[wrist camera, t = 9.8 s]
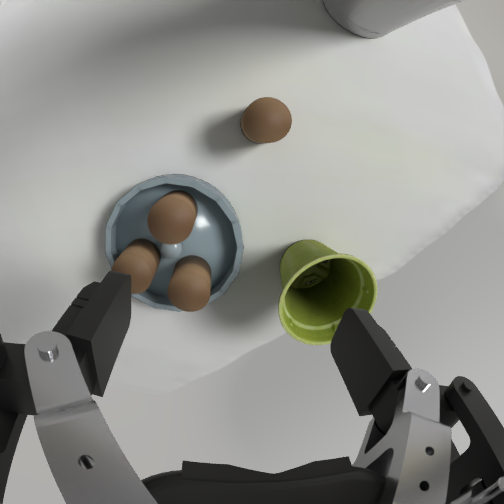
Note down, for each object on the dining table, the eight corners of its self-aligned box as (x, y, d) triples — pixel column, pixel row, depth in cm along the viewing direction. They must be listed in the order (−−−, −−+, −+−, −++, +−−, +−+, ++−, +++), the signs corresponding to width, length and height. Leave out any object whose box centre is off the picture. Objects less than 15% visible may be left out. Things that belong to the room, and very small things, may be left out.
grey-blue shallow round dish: (118, 166, 25) (109, 169, 23) (253, 186, 28) (256, 190, 25) (113, 288, 30) (106, 299, 28) (229, 306, 33) (230, 319, 30)
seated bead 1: (126, 235, 27) (111, 251, 23) (162, 241, 28) (152, 258, 24) (125, 270, 28) (112, 290, 24) (159, 275, 29) (150, 297, 25)
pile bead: (244, 101, 24) (249, 92, 20) (284, 109, 25) (295, 103, 21) (236, 138, 26) (239, 137, 22) (276, 146, 26) (286, 147, 22)
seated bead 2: (176, 252, 28) (169, 271, 24) (213, 258, 29) (212, 277, 25) (172, 285, 30) (166, 308, 26) (208, 291, 30) (207, 314, 26)
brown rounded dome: (160, 187, 26) (149, 195, 22) (200, 193, 26) (196, 202, 22) (156, 226, 27) (145, 240, 23) (194, 232, 28) (190, 247, 24)
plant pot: (279, 310, 34) (296, 358, 26) (251, 243, 30) (263, 281, 22) (349, 281, 33) (381, 320, 25) (331, 212, 30) (368, 238, 22)
